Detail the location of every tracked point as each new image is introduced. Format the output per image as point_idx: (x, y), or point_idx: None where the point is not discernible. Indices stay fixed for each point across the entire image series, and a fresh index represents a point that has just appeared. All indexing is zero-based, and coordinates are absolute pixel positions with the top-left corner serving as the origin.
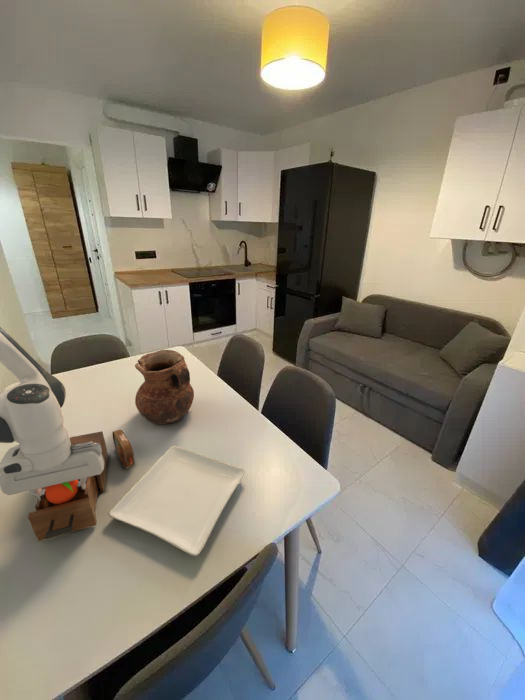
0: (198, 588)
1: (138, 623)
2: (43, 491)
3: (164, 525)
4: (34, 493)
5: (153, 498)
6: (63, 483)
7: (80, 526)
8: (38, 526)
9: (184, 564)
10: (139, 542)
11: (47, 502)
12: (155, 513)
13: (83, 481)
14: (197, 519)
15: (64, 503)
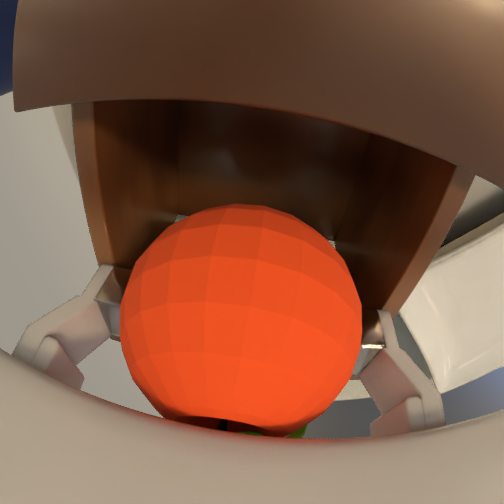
0: None
1: (341, 395)
2: (114, 317)
3: (455, 330)
4: (80, 359)
5: (492, 261)
6: None
7: None
8: None
9: (425, 371)
10: (403, 329)
11: (150, 182)
12: (466, 300)
13: (383, 409)
14: (490, 337)
15: (230, 121)
